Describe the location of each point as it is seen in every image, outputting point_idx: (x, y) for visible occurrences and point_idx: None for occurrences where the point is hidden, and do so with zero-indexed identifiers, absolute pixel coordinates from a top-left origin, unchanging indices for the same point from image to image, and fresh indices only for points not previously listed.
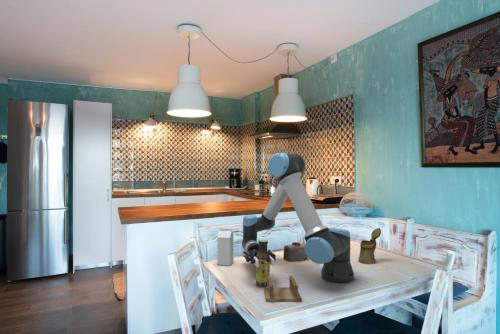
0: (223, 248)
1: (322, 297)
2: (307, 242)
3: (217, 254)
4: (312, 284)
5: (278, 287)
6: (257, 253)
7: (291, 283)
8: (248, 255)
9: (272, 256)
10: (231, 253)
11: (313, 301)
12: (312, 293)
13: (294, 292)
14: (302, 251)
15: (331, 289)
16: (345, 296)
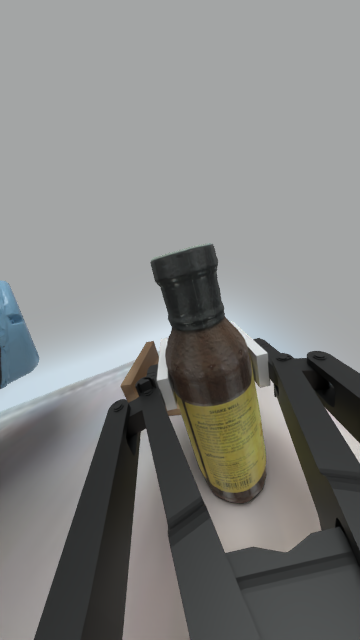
0: None
1: (102, 385)
2: (14, 298)
3: None
4: (47, 466)
5: (174, 409)
6: (236, 328)
7: (145, 367)
8: (336, 377)
9: (138, 403)
10: None
11: (129, 370)
12: (105, 400)
13: (156, 352)
14: None
15: (43, 424)
16: (60, 392)
